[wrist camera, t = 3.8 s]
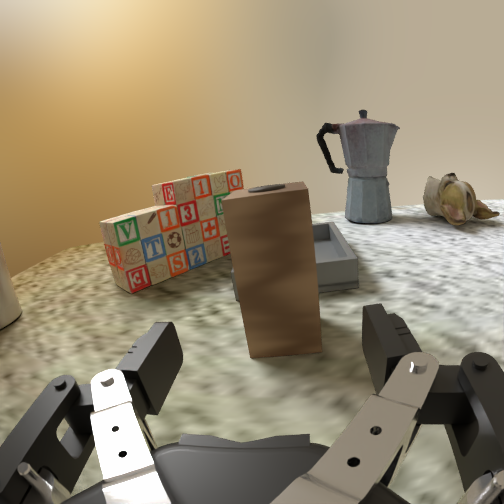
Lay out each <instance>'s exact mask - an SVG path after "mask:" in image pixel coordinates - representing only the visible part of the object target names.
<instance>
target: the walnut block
mask: <svg viewBox="0 0 504 504" xmlns="http://www.w3.org/2000/svg"><path fill="white" fill-rule="evenodd" d="M221 202H222V208H223V214H224V220H225V225H226V231H227V237H228V242H229V248H230V253H231V259H232V264H233V270H234V275H235V281H236V286H237V291H238V297H239V302H240V307H241V312H242V318H243V323H244V328H245V333H246V338H247V343H248V348H249V353H250V358H260V357H274V356H287V355H298V354H309V353H318V352H322V342H321V324H320V308H319V294H318V281H317V269H316V258H315V247H314V237H313V228H312V219H311V210H310V202H309V193H308V188H307V187H306V185H305V184H304V182H295V183H287V184H276V185H267V186H261V187H256V188H249V189H242V190H235V191H234V192H232V193H231V194H229V195H228V196H227V197H225V198H224V199H222V200H221Z"/></svg>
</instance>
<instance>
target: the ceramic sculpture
mask: <svg viewBox="0 0 504 504" xmlns="http://www.w3.org/2000/svg"><path fill="white" fill-rule="evenodd" d="M423 200H424V206H425V209H426V211H427V213H428V214H429V215H431V216H441V215H442V216H443V217H445V218H446V220H447V221H448V222H449V223H450V224H452V225H461V224H464V223H465V222H466V221H468V220H469V219H470V218H471V217H472V216H473V217H475V218H478V219H489V218H492V217H496V216H499V214H500V213H499V212H492V211H491V209H488V206H486V205H485V204H484V203H482V202H481V201H480V200H476V196H475V192H474V190H473V188H472V187H471V185H470V184H468V183H467V182H463V181H459V180H458V179H457V177H456V175H455V173H450V174H447V175H445V176H444V177H443V178H442V180H441V181H440V180H438V179H435V178H433V177H430V176H429V177H428V180H427V183H426V187H425V192H424V196H423Z"/></svg>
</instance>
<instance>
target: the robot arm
mask: <svg viewBox="0 0 504 504" xmlns="http://www.w3.org/2000/svg"><path fill="white" fill-rule="evenodd" d="M21 312H22V309H21V306H20V304H19V301H18V298H17V295H16V293H15V290H14V287H13V284H12V281H11V278H10V275H9V271H8V268H7V265H6V262H5V258H4V255H3V251H2V247H1V244H0V329H1V328H3V327H5V326H7V325H8V324H10V323H11V322H13V321H14V320H15V319H16V318H17V317H18V316H19V315H20V314H21ZM362 346H363V352H364V355H365V358H366V361H367V364H368V368H369V371H370V374H371V377H372V381H373V384H374V387H375V391H376V394H377V395H376V394H372V395H371V396H370V397H369V398H368V399H367V401H366V402H365V403H364V405H363V406H362V408H361V409H360V410H359V412H358V413H357V414H356V416H355V417H354V418H353V420H352V421H351V422H350V424H349V425H348V426H347V427H346V429H345V430H344V431H343V432H342V434H341V435H340V436H339V437H338V439H337V440H336V441H335V442H334V443H333V445H332V446H331V447H328V446H325V445H321V444H316V443H310V434H301V435H285V436H274V437H269V438H265V439H260V440H255V441H250V442H244V443H240V442H235V441H231V440H227V439H223V438H219V437H215V436H210V435H194V434H182V436H181V438H180V441H179V442H176V443H171V444H167V445H164V446H161V447H157V444H156V442H155V440H154V438H153V435H152V433H151V431H150V428H149V426H148V424H147V422H146V420H145V416H146V414H150V415H158V414H159V412H160V409H161V407H162V405H163V403H164V401H165V399H166V397H167V395H168V393H169V391H170V388H171V386H172V384H173V382H174V380H175V378H176V376H177V374H178V372H179V370H180V368H181V366H182V363H183V352H182V348H181V345H180V342H179V339H178V336H177V332H176V329H175V326H174V324H173V323H172V322H155V323H154V324H153V326H152V327H151V328H150V330H149V331H148V332H147V333H145V334H144V335H142V336H141V337H140V338H138V339H137V340H136V341H135V343H134V344H133V345H132V348H130V349H129V351H128V353H126V355H125V356H124V357H123V359H122V360H121V361H120V363H119V364H118V366H117V367H116V368H115V369H110V370H105V371H103V372H101V373H99V374H97V375H96V376H95V377H94V378H93V379H92V381H91V384H83V385H78V384H77V382H76V381H75V379H74V377H73V376H71V375H62V376H59V377H57V378H55V379H53V380H52V381H51V382H50V383H49V384H48V385H47V387H46V388H45V389H44V390H43V392H42V393H41V394H40V395H39V397H38V398H37V399H36V400H35V402H34V403H33V404H32V405H31V407H30V408H29V409H28V411H27V412H26V413H25V414H24V416H23V417H22V418H21V420H20V421H19V422H18V424H17V425H16V426H15V428H14V429H13V430H12V432H11V433H10V434H9V436H8V437H7V438H6V440H5V441H4V443H3V444H2V445H1V447H0V504H410V503H409V502H407V501H406V500H404V499H403V498H402V497H400V496H399V495H397V494H396V493H395V492H393V491H392V490H390V489H389V486H390V485H391V483H392V482H393V480H394V478H395V476H396V475H397V473H398V471H399V469H400V467H401V465H402V463H403V461H404V459H405V457H406V455H407V453H408V452H409V450H410V448H411V446H412V444H413V442H414V440H415V438H416V436H417V434H418V432H419V430H420V428H421V426H422V424H444V426H445V428H446V431H447V434H448V437H449V440H450V443H451V446H452V450H453V453H454V456H455V459H456V463H457V466H458V469H459V473H460V476H461V480H462V484H463V488H464V491H465V494H464V495H463V496H462V497H461V498H460V500H459V501H458V502H457V504H504V372H503V370H502V369H501V367H500V366H499V364H498V363H497V361H496V360H495V359H494V358H493V357H492V356H490V355H488V354H486V353H482V352H474V353H470V354H468V355H466V356H465V357H464V358H463V359H462V362H461V365H439V363H438V361H437V359H436V358H435V357H434V356H432V355H430V354H427V353H423V352H422V350H421V349H420V347H419V345H418V344H417V342H416V340H415V338H414V337H413V335H412V334H411V332H410V330H409V328H407V325H406V323H405V322H404V320H403V319H402V318H401V317H399V316H398V315H396V314H395V313H394V314H387V313H386V311H385V309H384V307H383V306H382V304H373V305H366V306H363V319H362ZM63 418H65V420H66V421H67V423H68V424H69V428H68V430H67V431H66V433H65V434H64V436H63V438H62V439H61V441H59V440H58V438H57V435H56V431H57V428H58V426H59V424H60V423H61V421H62V420H63ZM95 445H96V447H97V452H98V456H99V461H100V465H101V469H102V473H103V477H104V480H102V481H100V482H99V483H97V484H95V485H93V486H91V487H90V488H88V489H86V490H84V491H82V492H80V493H78V494H76V495H74V496H72V497H71V496H70V495H71V493H72V491H73V488H74V486H75V484H76V482H77V480H78V478H79V476H80V474H81V472H82V470H83V468H84V466H85V464H86V462H87V460H88V458H89V456H90V455H91V453H92V451H93V449H94V447H95Z"/></svg>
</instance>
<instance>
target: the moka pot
mask: <svg viewBox="0 0 504 504" xmlns="http://www.w3.org/2000/svg"><path fill="white" fill-rule="evenodd" d="M359 114H360V119H358V120H355V121H352V122H349V123H346V124H330V123H325V124H324V125H323V126H322V129H320V131H319V133H318V134H317V141H318V144H319V146H320V147H321V150H322V152H323V154H324V157H325V159H326V161H327V164H328V165H329V168H330V171H331V172H332V173H339V174H340V173H341V174H342V173H343V170H344V169H342V168H336V167H335V165H334V163H333V161H332V160H331V155H330V152H329V150H328V148H327V145H326V142H325V140H324V139H323V136H324V134H325V133H327V132H328V133H332V134H339V135H340V139H341V144H342V148H343V153H344V158H345V163H346V165H347V166H348V168H349V169H347V173H348V175H349V179H348V187H347V201H346V210H345V218H346V219H347V220H350V221H353V222H359V223H382V222H387V221H389V220H391V218H392V210H391V202H390V194H389V187H388V186H389V182H388V180H387V178H386V176H387V166H388V165H389V156H390V149H391V146H392V144H393V141H394V138H395V135H396V132H397V130H398V129H400V128H399V127H398V126H396V125H395V124H392V123H385V122H379V121H375V120H370V119H367V111H366V110H360V111H359Z"/></svg>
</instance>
